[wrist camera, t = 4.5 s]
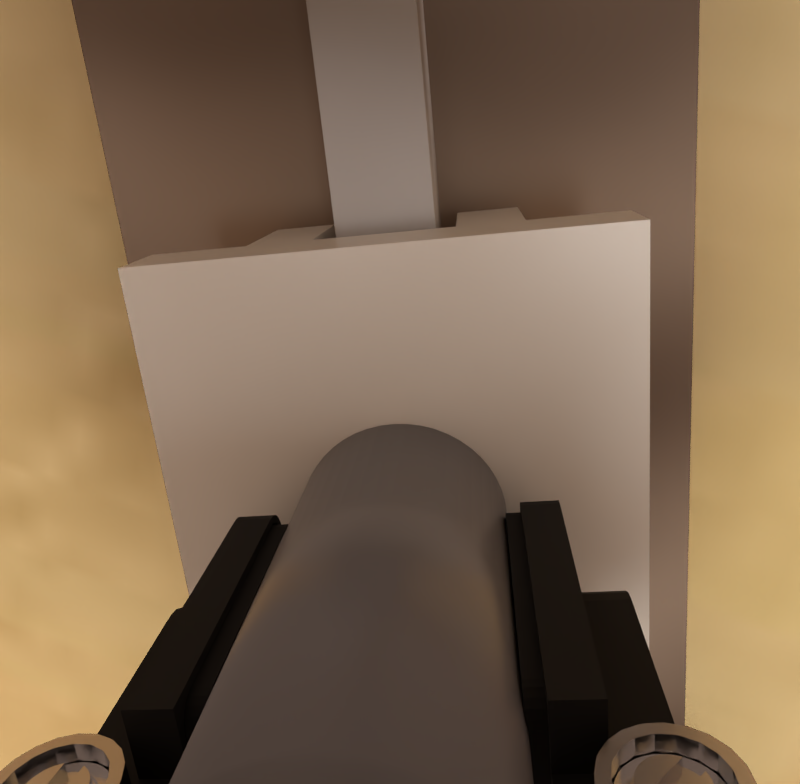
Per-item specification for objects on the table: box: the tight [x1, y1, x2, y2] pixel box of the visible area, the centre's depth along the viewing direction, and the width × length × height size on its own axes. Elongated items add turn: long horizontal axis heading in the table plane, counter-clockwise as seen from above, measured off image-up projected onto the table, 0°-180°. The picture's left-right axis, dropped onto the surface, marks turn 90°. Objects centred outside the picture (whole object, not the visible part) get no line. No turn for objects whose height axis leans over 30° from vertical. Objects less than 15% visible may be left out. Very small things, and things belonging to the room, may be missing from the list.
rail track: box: [72, 0, 700, 726], centre depth 12 cm, size 28×10×8 cm, turn 6°
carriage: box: [118, 207, 650, 784], centre depth 10 cm, size 8×7×9 cm
